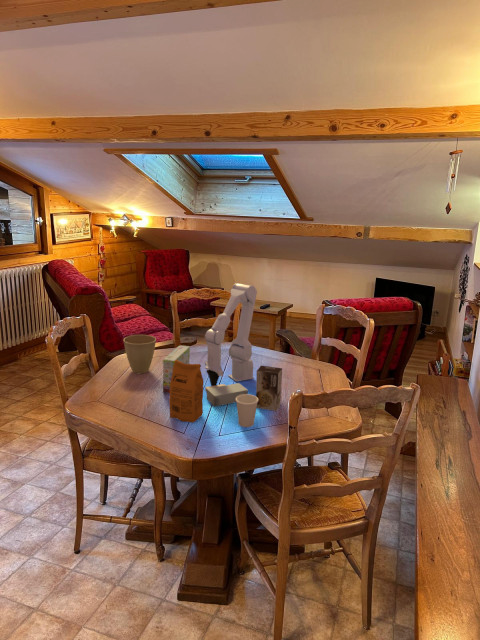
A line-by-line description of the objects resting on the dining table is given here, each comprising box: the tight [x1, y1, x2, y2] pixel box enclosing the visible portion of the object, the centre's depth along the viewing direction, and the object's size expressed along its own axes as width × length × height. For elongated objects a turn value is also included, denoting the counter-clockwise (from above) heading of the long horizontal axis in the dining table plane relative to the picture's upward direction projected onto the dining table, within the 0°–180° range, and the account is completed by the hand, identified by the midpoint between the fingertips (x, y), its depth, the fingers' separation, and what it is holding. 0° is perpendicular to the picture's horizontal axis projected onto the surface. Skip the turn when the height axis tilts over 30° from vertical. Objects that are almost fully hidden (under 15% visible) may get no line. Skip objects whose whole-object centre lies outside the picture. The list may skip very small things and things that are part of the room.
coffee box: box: [255, 365, 283, 412], centre depth 184 cm, size 9×6×16 cm
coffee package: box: [168, 360, 204, 424], centre depth 173 cm, size 10×12×22 cm
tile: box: [204, 383, 226, 392], centre depth 197 cm, size 9×13×2 cm
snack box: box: [162, 345, 191, 394], centre depth 204 cm, size 21×6×15 cm, turn 168°
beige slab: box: [206, 382, 249, 407], centre depth 191 cm, size 15×8×4 cm, turn 118°
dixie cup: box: [235, 393, 258, 428], centre depth 170 cm, size 8×8×10 cm
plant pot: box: [123, 334, 157, 374], centre depth 218 cm, size 15×15×16 cm
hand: (213, 385), depth 203 cm, fingers closed
